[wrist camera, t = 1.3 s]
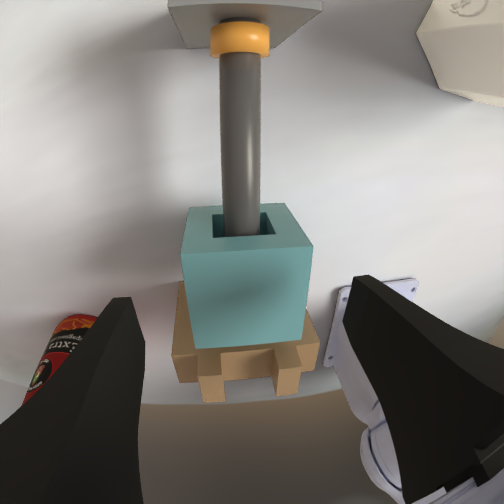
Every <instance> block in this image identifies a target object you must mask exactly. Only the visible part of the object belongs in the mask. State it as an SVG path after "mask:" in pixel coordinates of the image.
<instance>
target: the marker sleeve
mask: <svg viewBox="0 0 504 504" xmlns="http://www.w3.org/2000/svg"><path fill="white" fill-rule="evenodd" d="M312 254H313V245H312V243H311V242H310V240H309V239H308V237H307V236H306V234H305V233H304V231H303V230H302V228H301V227H300V225H299V224H298V222H297V221H296V219H295V218H294V216H293V215H292V213H291V212H290V210H289V209H288V207H287V206H286V205H285V203H267V204H260V235H255V236H238V237H224V222H223V206H207V207H191V208H189V211H188V216H187V221H186V226H185V231H184V236H183V242H182V247H181V253H180V256H181V264H182V271H183V278H184V284H185V291H186V297H187V303H188V310H189V315H190V321H191V327H192V333H193V338H194V343H195V349H201V348H219V347H233V346H245V345H256V344H267V343H276V342H285V341H293V340H301V339H302V332H303V325H304V318H305V311H306V304H307V296H308V288H309V280H310V272H311V263H312Z"/></svg>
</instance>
